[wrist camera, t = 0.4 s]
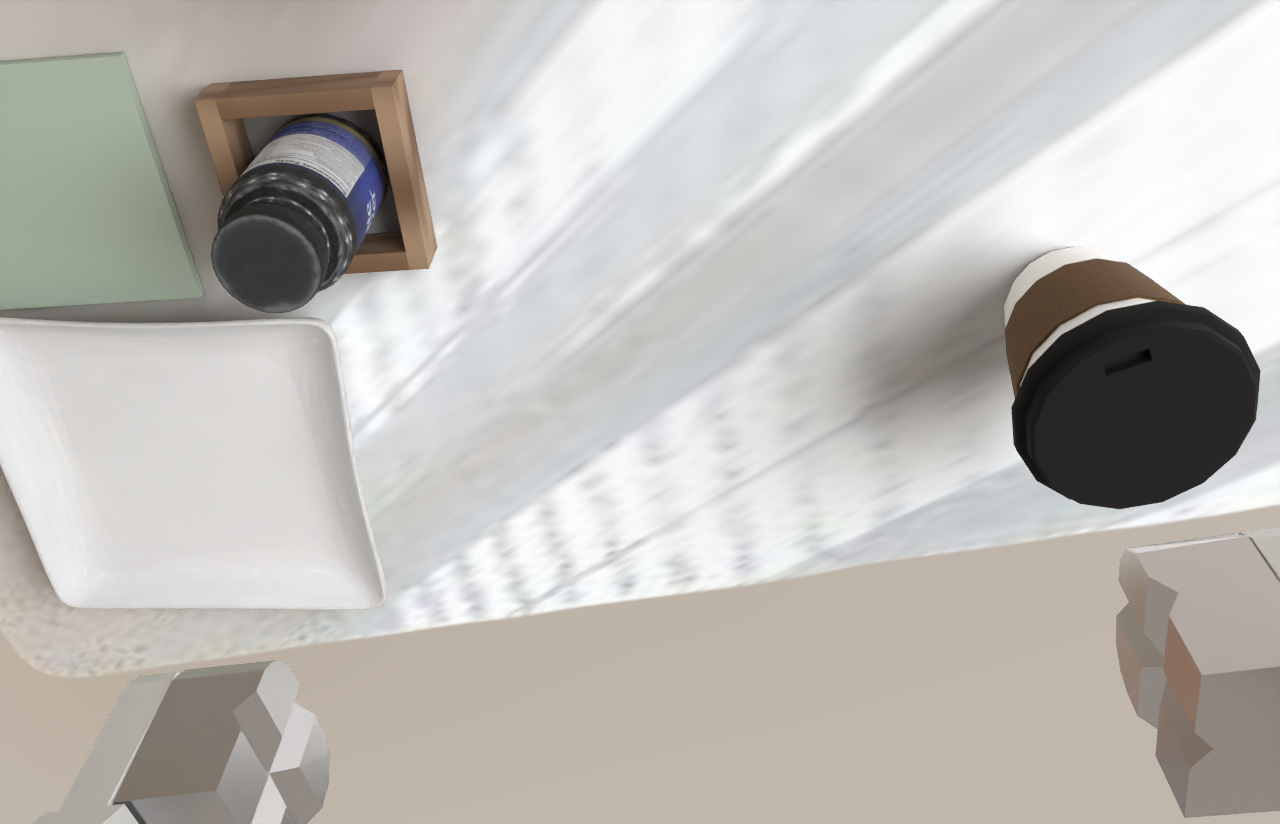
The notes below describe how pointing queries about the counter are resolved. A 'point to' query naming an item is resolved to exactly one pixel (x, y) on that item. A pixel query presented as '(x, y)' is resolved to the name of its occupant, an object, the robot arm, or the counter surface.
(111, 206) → the sage mat
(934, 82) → the counter surface
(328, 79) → the walnut collar
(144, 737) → the robot arm
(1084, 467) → the coffee cup
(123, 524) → the salad plate
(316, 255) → the pill bottle
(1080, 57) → the counter surface
